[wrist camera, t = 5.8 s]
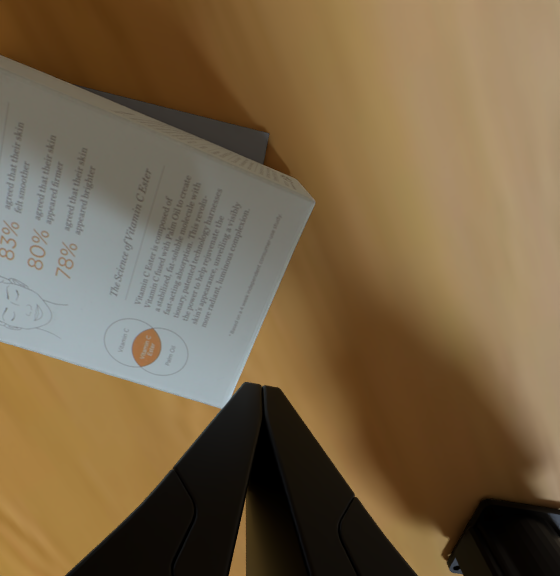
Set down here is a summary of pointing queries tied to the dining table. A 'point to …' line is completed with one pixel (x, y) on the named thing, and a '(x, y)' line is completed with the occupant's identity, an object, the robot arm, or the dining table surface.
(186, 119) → the mat
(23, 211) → the small box
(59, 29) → the dining table surface
